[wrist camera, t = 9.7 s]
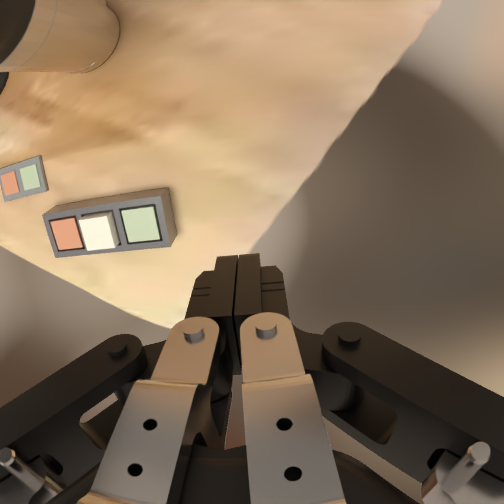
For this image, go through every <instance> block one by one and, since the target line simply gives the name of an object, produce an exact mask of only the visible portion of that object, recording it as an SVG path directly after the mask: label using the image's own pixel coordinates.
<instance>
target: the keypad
mask: <svg viewBox="0 0 504 504" xmlns="http://www.w3.org/2000/svg"><path fill="white" fill-rule="evenodd" d="M149 204H155V205H156V210H157V215H158V220H159V225H160V230H161V235H162V237H161V238H160V239H158V240H148V241H138V242H129V241H128V237H127V233H126V229H125V225H124V220H123V216H122V212H121V211H122V210H123V209H124V208H126V207H134V206H141V205H149ZM106 210H113V213H114V217H115V221H116V225H117V229H118V233H119V237H120V243H119V244H118V245H117V246H116V247H115V248H109V249H100V250H90V251H87V248H86V245H85V241H84V238H83V234H82V231H81V227H80V224H79V220H80V219H81V218H82V217H83V216H84V215H86V214H87V213H93V212H99V211H106ZM74 215H76V219H77V222H78V226H79V229H80V233H81V236H82V240H83V243H84V246H83V247H81V248H72V249H64V250H59V249H58V246H57V242H56V239H55V236H54V233H53V229H52V226H51V223H50V222H51V221H52V220H54V219H56V218H62V217H68V216H74ZM42 216H43V219H44V223H45V226H46V229H47V233H48V236H49V239H50V242H51V245H52V248H53V251H54V254H55V257H56V258H59V257H69V256H79V255H89V254H99V253H110V252H120V251H131V250H141V249H152V248H163V247H171V245H172V243H173V241H174V240H175V238H176V236H177V233H176V227H175V222H174V217H173V212H172V206H171V201H170V195H169V189H168V188H161V189H153V190H146V191H140V192H133V193H126V194H120V195H114V196H108V197H102V198H96V199H90V200H84V201H79V202H73V203H68V204H63V205H58V206H55V207H53V208H52V209H50V210H49V211H47V212H46V213H44V214H43V215H42Z"/></svg>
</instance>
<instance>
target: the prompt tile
mask: <svg viewBox="0 0 504 504" xmlns="http://www.w3.org/2000/svg"><path fill="white" fill-rule="evenodd" d="M0 185H1V189H2V193H3V197H4V201H5V202H6V201H10V200H14V199H18V198H22V197H26V196H30V195H34V194H38V193H42V192H46V191H48V185H47V181H46V177H45V172H44V168H43V163H42V158H41V156H37V157H34V158H31V159H28V160H25V161H22V162H19V163H16V164H13V165H10V166H7V167H4V168H2V169H0Z"/></svg>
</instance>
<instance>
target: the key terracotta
mask: <svg viewBox="0 0 504 504" xmlns="http://www.w3.org/2000/svg"><path fill="white" fill-rule="evenodd" d="M50 223H51V226H52V229H53V233H54V236H55V239H56V242H57V246H58V249H59V250H64V249H72V248H81V247H83V246H84V243H83V240H82V236H81V233H80V229H79V226H78V222H77V219H76V215H74V216H68V217H62V218H56V219H54V220H52V221H51V222H50Z"/></svg>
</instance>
